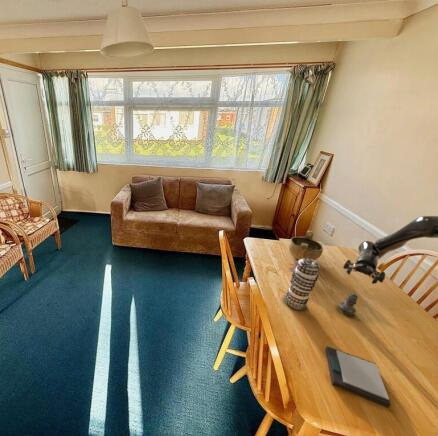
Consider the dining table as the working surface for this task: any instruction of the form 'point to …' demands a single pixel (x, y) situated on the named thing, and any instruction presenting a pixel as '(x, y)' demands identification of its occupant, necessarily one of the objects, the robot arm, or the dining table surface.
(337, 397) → the dining table surface
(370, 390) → the scale
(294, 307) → the decorative candle
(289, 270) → the lily
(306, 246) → the ceramic bowl
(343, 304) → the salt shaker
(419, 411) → the dining table surface
